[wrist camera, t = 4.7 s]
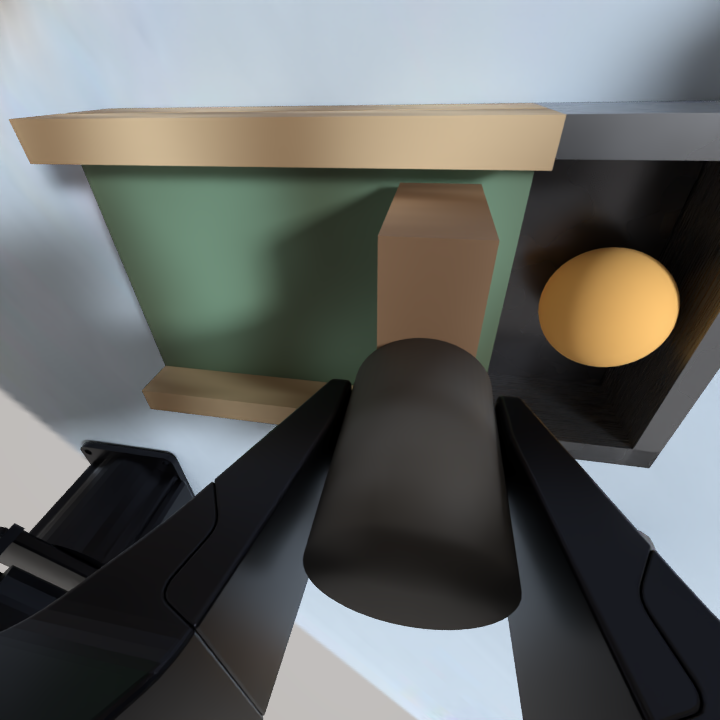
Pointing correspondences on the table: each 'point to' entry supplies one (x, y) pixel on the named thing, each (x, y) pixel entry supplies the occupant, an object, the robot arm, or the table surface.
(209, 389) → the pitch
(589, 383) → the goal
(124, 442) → the table surface
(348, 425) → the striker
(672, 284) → the ball
